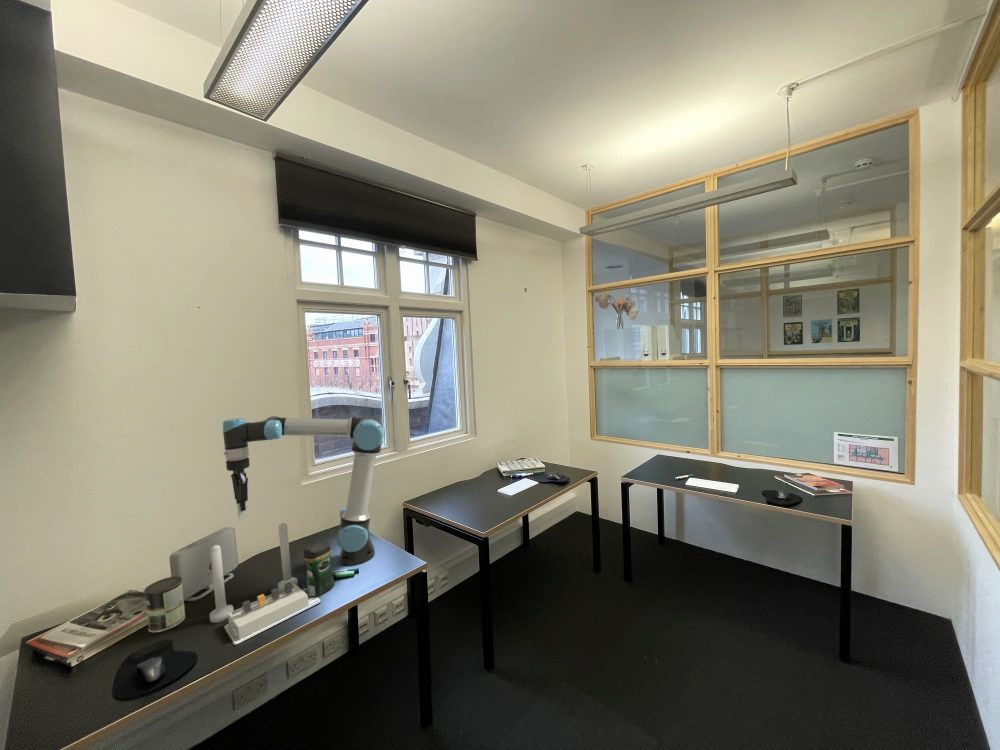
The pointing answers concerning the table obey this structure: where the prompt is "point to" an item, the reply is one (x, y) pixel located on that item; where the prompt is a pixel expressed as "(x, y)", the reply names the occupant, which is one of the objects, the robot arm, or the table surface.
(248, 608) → the breaker paddles
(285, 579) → the white rod
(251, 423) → the robot arm
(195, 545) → the network device
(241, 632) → the breaker panel
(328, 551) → the coffee jar
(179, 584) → the coffee can
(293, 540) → the table surface
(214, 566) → the white peg stand
